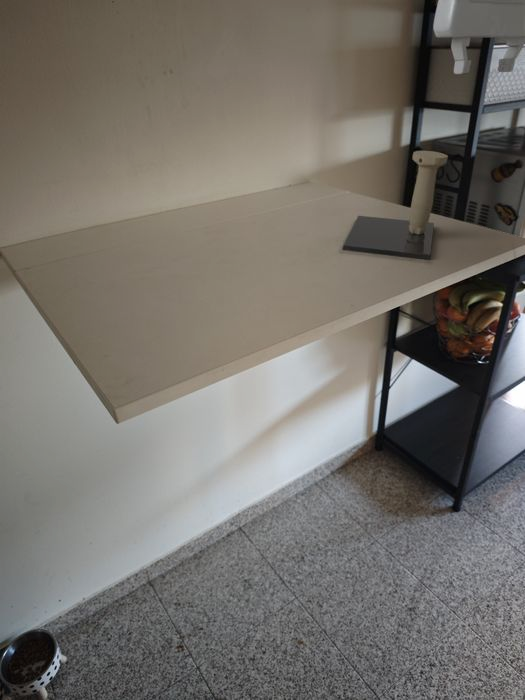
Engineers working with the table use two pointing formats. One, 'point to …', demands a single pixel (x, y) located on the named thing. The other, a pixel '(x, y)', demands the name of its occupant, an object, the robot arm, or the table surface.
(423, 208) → the handle
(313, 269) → the table surface
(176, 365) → the table surface
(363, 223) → the dark grey square plate
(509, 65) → the robot arm
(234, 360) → the table surface
